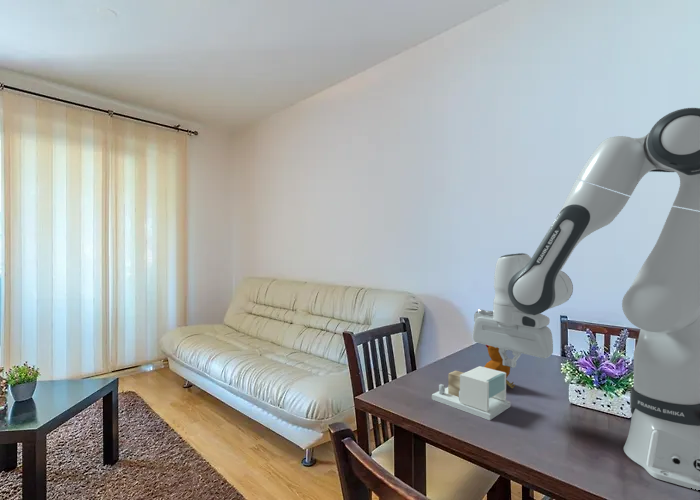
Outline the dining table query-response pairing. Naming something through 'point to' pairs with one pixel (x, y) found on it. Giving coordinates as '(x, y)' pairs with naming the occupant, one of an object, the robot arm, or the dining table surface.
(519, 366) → the dining table surface
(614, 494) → the dining table surface
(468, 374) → the cover
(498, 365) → the toy
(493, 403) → the white peg base plate
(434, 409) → the dining table surface
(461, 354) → the dining table surface
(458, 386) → the block
